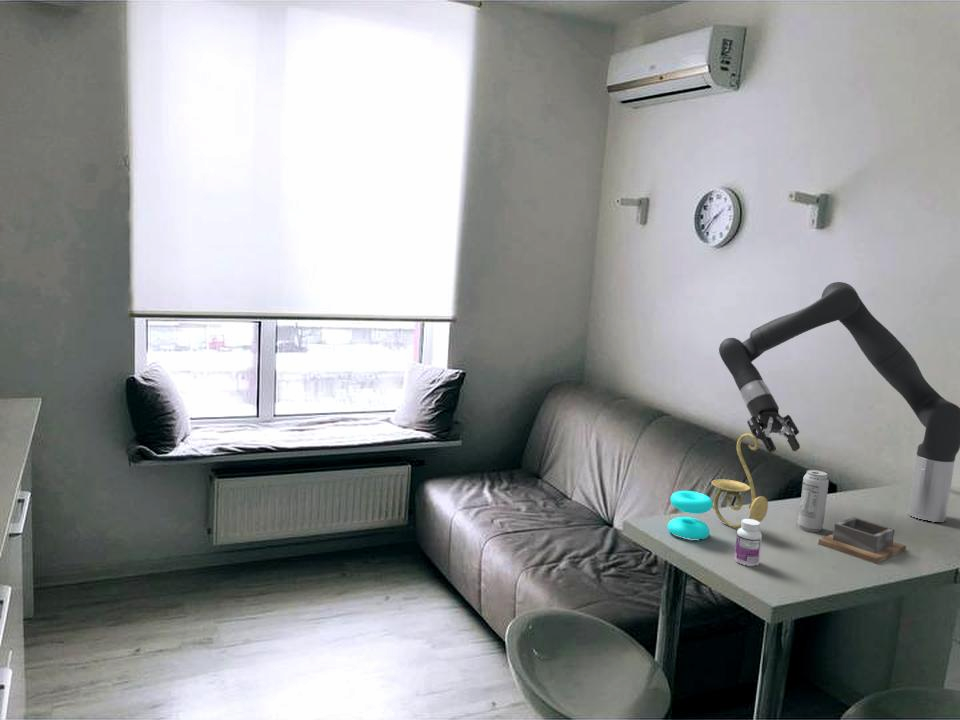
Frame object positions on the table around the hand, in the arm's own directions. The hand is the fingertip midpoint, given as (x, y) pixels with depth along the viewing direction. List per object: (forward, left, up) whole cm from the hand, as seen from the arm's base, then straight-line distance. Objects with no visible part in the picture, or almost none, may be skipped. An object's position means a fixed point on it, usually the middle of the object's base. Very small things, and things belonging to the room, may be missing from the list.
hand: (785, 450), depth 214 cm
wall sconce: (+21, 0, -18) cm, 28 cm away
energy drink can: (+3, +11, -18) cm, 21 cm away
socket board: (+4, +25, -18) cm, 31 cm away
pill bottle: (+39, +15, -18) cm, 45 cm away
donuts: (+36, -3, -18) cm, 40 cm away
